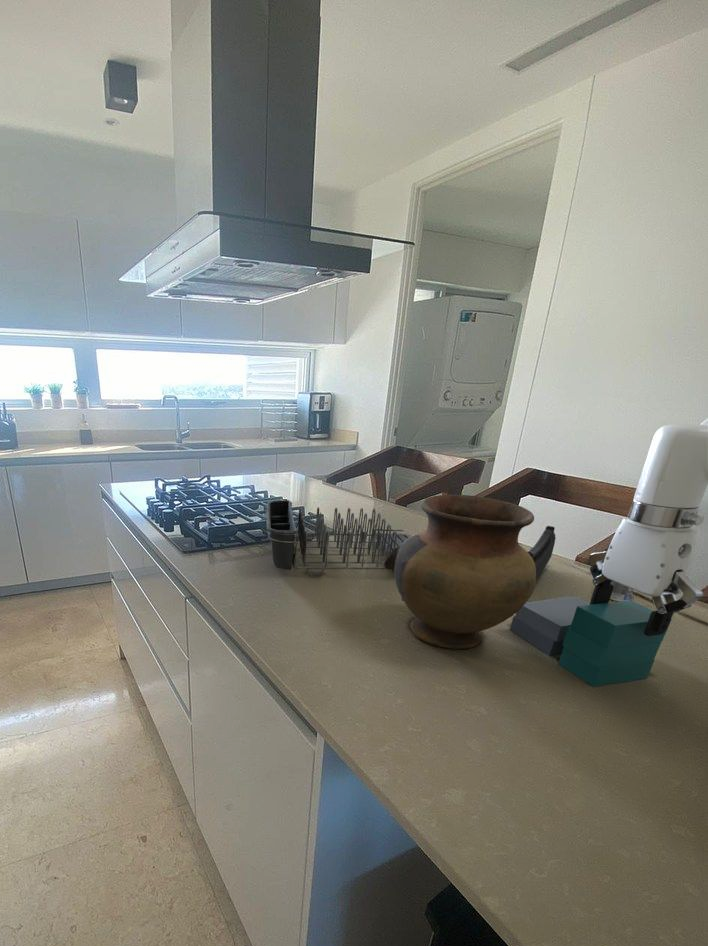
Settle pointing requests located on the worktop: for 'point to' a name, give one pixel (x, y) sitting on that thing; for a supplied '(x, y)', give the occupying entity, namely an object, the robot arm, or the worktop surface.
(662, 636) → the teal block
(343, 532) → the dish rack
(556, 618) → the grey stack
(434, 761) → the worktop surface
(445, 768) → the worktop surface
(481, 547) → the pot
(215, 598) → the worktop surface
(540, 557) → the magazine
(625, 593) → the pill bottle
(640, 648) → the teal stack
